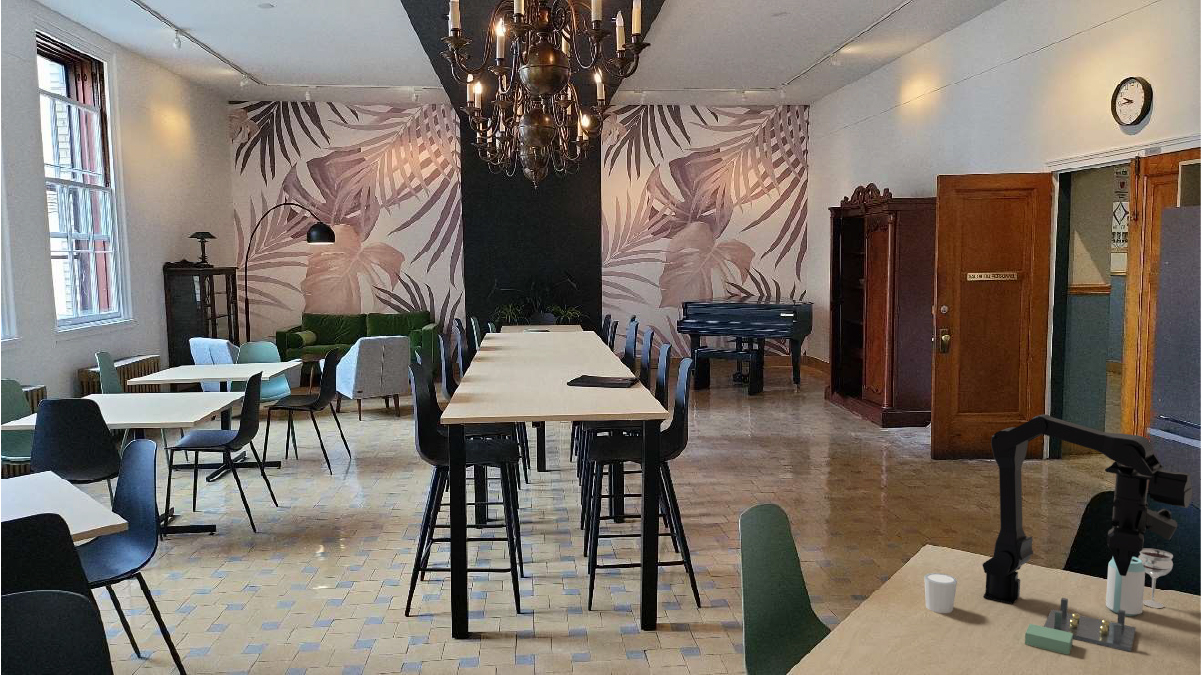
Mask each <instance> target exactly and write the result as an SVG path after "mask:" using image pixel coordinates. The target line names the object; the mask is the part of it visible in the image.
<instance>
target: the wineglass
mask: <svg viewBox="0 0 1201 675" xmlns="http://www.w3.org/2000/svg"><path fill="white" fill-rule="evenodd" d="M1137 558H1139V559H1140V560H1142V564H1143V566H1144V568H1145V574H1148V575H1149V576H1150V577H1151V599H1143V603H1144V604H1145V605H1148V606H1151V607H1156V608H1161V607H1163V606H1164V605H1165V604H1163V603H1161V602H1159V601H1155V600H1154V599H1155V592H1156V591H1155V590H1156V585H1157V584H1156V582H1157V579H1158V578H1159V577H1163V576H1166V575H1168V574H1170V573H1171V572H1172V569H1173V566H1174V563H1173V560H1172V559H1173V558H1174V555H1173V553H1171V552H1169V551H1165V550H1161V549H1156V548H1143V550H1142V551H1141V552H1139V555H1138V557H1137Z"/></svg>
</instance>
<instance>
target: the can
mask: <svg viewBox="0 0 1201 675" xmlns="http://www.w3.org/2000/svg"><path fill="white" fill-rule="evenodd" d="M1145 576H1146V572H1145V568H1144V566H1143V564H1142V560H1140V559H1139V558H1138V557H1136V556H1133V557H1132V560H1131V563H1130V566H1129V568H1128V571H1127V574H1126V576H1121V575H1120V574H1119V571H1118V569H1117V566H1116V563H1115V561H1114V558H1113V556H1112V558H1111V559H1110V561H1109V562H1108V566H1107V579H1106V580H1107V581H1106V582H1107V583H1106V597H1105V598H1106V600H1105V606H1106V607H1107V608H1108V609H1109V610H1110V611H1112V612H1113V613H1115V614H1118V610H1124V611H1125V616H1128V617H1129V616H1130V617H1133V616H1134V617H1135V616H1138V615H1140V614H1142V613H1143V608H1144V605H1143V600H1144V597H1145V596H1144V593H1145V580H1146V578H1145ZM1137 614H1138V615H1137Z"/></svg>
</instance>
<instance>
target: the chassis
mask: <svg viewBox="0 0 1201 675" xmlns="http://www.w3.org/2000/svg"><path fill="white" fill-rule="evenodd" d="M1068 603H1069V598H1066V597H1061V598H1060V610H1058V609H1051V610H1050V612H1049V614H1048V617H1047V618H1046V620H1045V623H1044V625H1043V627H1047V628H1052V629H1056V630H1061V631H1065V632H1070V633H1073V640H1077V641H1083V642H1086V643H1090V644H1095V645H1100V646H1103V647H1107V648H1111V649H1112V648H1113V649H1116V650H1121V651H1126V652H1132V648H1133V645H1134V644H1133V643H1134V639H1135V636H1136V635H1135V634H1136V632H1137V631H1136V629H1137V628H1136V627H1135V626H1131V625H1127V624H1126V625H1125V620H1126V615H1125V611H1124V610H1118V613H1117V622H1112V621H1110V620H1108V619H1105V618H1104V619H1098V618H1093V617H1088V616H1084V615H1081V614H1079V613H1078V612H1073V613H1070V612H1068V606H1069V604H1068Z"/></svg>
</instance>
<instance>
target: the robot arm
mask: <svg viewBox="0 0 1201 675" xmlns="http://www.w3.org/2000/svg"><path fill="white" fill-rule="evenodd" d="M1042 435H1043V436H1048V437H1051V438H1055V439H1057V440H1061V441H1064V442H1067V443H1070V444H1073V445H1076V446H1080V447H1083V448H1087V449H1091V450H1094V451H1097V452H1098V453H1100V454H1103V455H1104V456H1105V457H1107V458H1108V459H1109V460H1111V461H1113V463H1112V464H1111V465H1110V466H1108V467H1106V468H1105V469H1104V472H1105V473H1109V474H1114V475H1115V482H1114V483H1115V484H1114V498H1113V501H1112V506H1113V507H1112V519H1111V526H1112V528H1111V529H1109V530H1108V532H1107V538H1106V540H1107V541H1106V544H1107V546H1108V548H1109V551H1110V553H1111V555H1112V556H1113V558H1114V561H1115V563H1116V566H1117V569H1118V571H1119V574H1120V575H1121V576H1126V574H1127V571H1128V568H1129V566H1130V563H1131V560H1132V557H1134V555H1135V554H1137V553H1140V552H1141V551H1142V550H1143V549H1144V542H1145V536H1144V534H1145V533H1146V529H1147V530H1148V531H1150V532H1152V533H1155V534H1157V535H1158V536H1161V538H1162V539H1164V540H1167V541H1170V540H1171V538H1172V537H1173V535H1174V533H1175V531H1176V530H1177V528H1178V522H1177V521H1176V519H1172V512H1171V511H1170V510H1168V509H1166V508H1162V509H1160V510H1158V511H1156V510H1152V509H1149V508H1148V505H1149V503H1148V502H1147V495H1148V496H1149V498H1150V499H1152V500H1153V502H1155V503H1161V504H1165V505H1170V506H1174V507H1175V506H1176V507H1180V508H1185V509H1188V507H1189V506H1190V504H1191V501H1192V497H1193V496H1192V495H1193V487H1192V481H1191V474H1190V473H1189V472H1188V473H1187V472H1183V471H1182V472H1179V471H1177V472H1176V471H1172V470H1164V469H1165V468H1164V466H1163V465H1162V463H1161V462H1160V461H1159V459H1158V458H1157V456H1156V454H1155V452H1154V447H1153V444H1152V443H1151V441H1150V439H1148V438H1146V437H1145V436H1142V435H1136V434H1128V433H1127V434H1126V433H1117V432H1115V433H1114V432H1107V431H1106V432H1105V431H1102V430H1099V429H1095V428H1091V427H1087V426H1084V425H1081V424H1077V423H1073V422H1070V421H1066V420H1063V419H1059V418H1056V417H1053V416H1051V415H1050V414H1046V413H1044V414H1040V415H1039V414H1038V415H1036V416H1034V417H1033V418H1031V419H1030V420H1028V421H1026V422H1024V423H1022V424H1020V425H1018V426H1016V427H1015V426H1013V427H1008V428H1004V429H1000V430H999V431H997V432H995V433H994V434H993V435H992V436H991V440H990V446H991V450H992V451H991V452H992V456H993V458H994V460H995V463H996V465H997V466H998V471H999V472H998V477H999V514H1000V515H999V516H1000V518H999V519H1000V522H999V524H1000V529H999V532H998V535H997V538H996V540H995V544H994V550H993V556H992V557H990V559H988V560H986V561H984V562H983V563H982V564H981V565H982V568H983V572H984V574H985V592H984V594H983V598H984V599H988V600H992V601H998V602H1001V601H1002V602H1001V603H1006V602H1007V603H1006V604H1010V603H1012V605H1013V603H1014V604H1015V602H1016V600H1018V599H1019V598H1020V595H1021V594H1020V593H1021V579H1020V578H1019V572H1018V571H1019V570H1021V568H1022V566H1023V565H1025V564H1027V563H1028V562H1029V561H1030V559H1031V556H1032V555H1034V551H1033V546H1032V545H1033V536H1027V535H1026V533H1025V531H1024V528H1023V499H1022V498H1023V497H1022V496H1023V495H1022V494H1023V493H1022V492H1023V491H1022V485H1023V484H1022V466H1023V464H1024V461H1025V458H1026V456H1027V451H1028V446H1029V445H1028V444H1029V442H1031V441H1032V440H1035V439H1036V438H1038V437H1040V436H1042Z"/></svg>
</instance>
